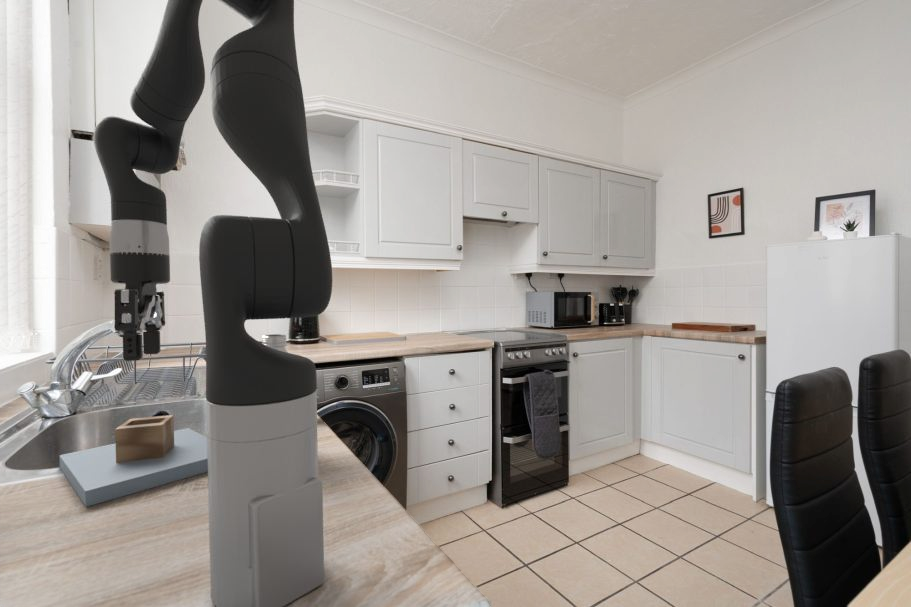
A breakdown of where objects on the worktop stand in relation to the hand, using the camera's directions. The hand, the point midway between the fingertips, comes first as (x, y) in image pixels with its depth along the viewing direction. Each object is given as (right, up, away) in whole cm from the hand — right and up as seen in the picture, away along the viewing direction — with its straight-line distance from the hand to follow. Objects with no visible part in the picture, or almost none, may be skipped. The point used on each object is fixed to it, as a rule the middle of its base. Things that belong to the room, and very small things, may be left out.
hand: (143, 356), depth 68 cm
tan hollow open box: (0, -15, 0) cm, 15 cm away
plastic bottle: (+19, -17, +4) cm, 26 cm away
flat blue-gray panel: (0, -17, 0) cm, 17 cm away
